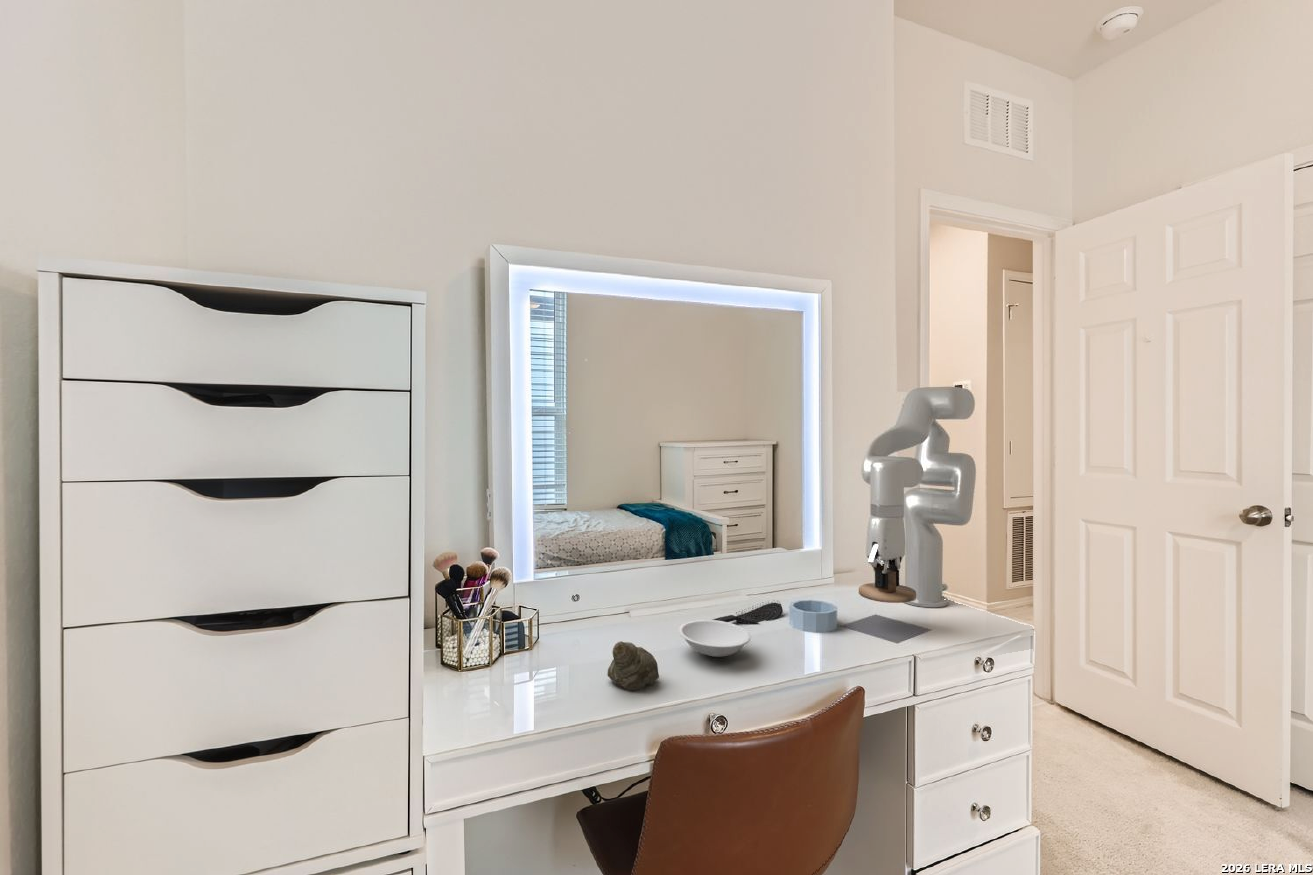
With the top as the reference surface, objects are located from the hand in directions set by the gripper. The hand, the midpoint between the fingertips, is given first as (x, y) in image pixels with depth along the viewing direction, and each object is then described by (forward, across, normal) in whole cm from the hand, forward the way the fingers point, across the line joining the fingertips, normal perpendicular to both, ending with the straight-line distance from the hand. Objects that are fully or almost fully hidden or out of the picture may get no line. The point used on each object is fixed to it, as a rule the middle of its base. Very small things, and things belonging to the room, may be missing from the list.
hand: (887, 586), depth 149 cm
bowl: (+10, +13, -12) cm, 20 cm away
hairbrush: (+10, +24, -25) cm, 36 cm away
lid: (+2, 0, 0) cm, 2 cm away
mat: (+10, +1, 0) cm, 10 cm away
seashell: (+9, +65, -12) cm, 67 cm away
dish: (+9, +45, -13) cm, 48 cm away
